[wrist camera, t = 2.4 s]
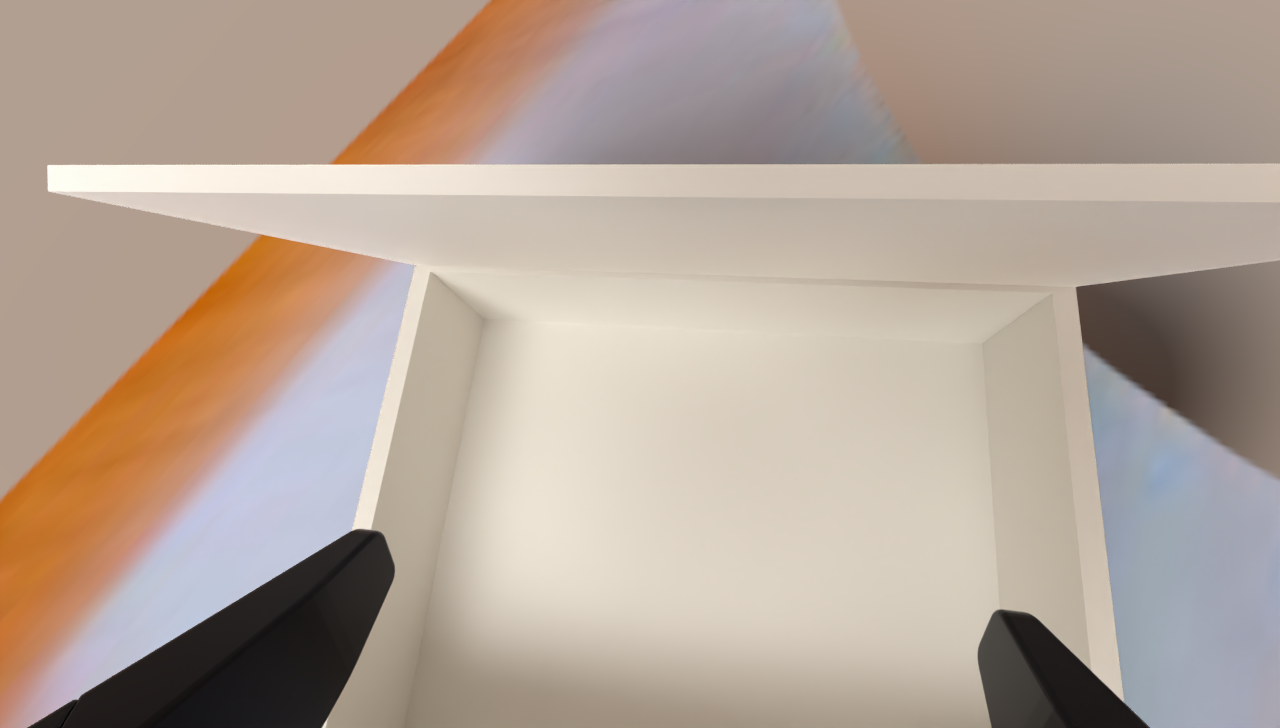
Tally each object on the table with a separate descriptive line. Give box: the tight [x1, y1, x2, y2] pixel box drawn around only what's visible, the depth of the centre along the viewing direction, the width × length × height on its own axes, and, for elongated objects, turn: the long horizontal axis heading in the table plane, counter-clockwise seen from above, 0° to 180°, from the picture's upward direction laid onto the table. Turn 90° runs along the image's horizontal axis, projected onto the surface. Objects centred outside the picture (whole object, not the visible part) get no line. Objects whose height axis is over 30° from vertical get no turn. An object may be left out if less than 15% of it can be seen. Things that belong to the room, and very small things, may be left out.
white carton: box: [322, 265, 1124, 728], centre depth 17 cm, size 16×20×5 cm
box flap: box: [48, 164, 1280, 287], centre depth 12 cm, size 1×20×10 cm, turn 83°
